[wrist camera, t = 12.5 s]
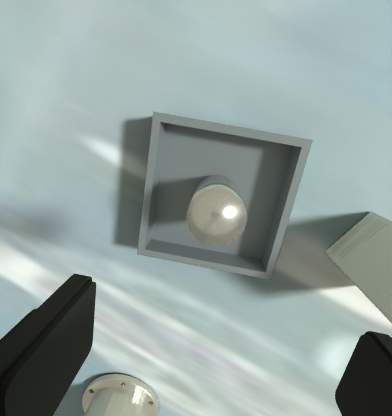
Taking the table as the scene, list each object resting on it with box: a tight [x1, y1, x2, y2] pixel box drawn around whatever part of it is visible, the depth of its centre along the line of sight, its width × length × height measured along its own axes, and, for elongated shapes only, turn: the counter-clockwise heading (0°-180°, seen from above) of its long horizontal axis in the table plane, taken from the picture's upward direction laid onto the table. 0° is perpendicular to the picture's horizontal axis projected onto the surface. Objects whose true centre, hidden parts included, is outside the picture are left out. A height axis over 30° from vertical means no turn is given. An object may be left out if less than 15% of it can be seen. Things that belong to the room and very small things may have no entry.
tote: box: [137, 112, 312, 280], centre depth 28 cm, size 16×16×4 cm
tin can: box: [186, 175, 247, 246], centre depth 25 cm, size 5×5×8 cm
